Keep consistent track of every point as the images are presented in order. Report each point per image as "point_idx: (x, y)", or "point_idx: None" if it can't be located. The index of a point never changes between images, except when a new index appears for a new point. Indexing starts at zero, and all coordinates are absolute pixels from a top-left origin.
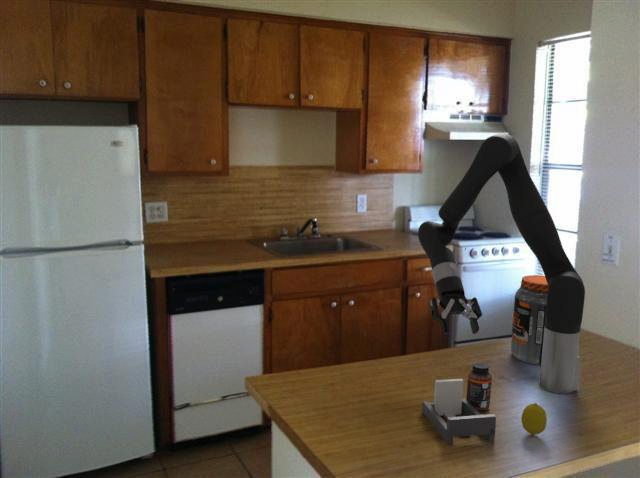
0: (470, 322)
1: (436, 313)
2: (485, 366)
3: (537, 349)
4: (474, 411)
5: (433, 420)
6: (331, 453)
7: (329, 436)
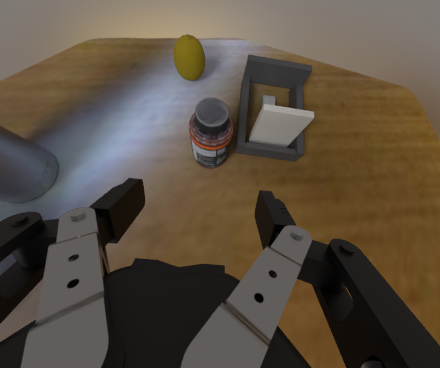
0: (117, 234)
1: (355, 258)
2: (206, 103)
3: None
4: (245, 108)
5: None
6: (413, 114)
7: (416, 143)
